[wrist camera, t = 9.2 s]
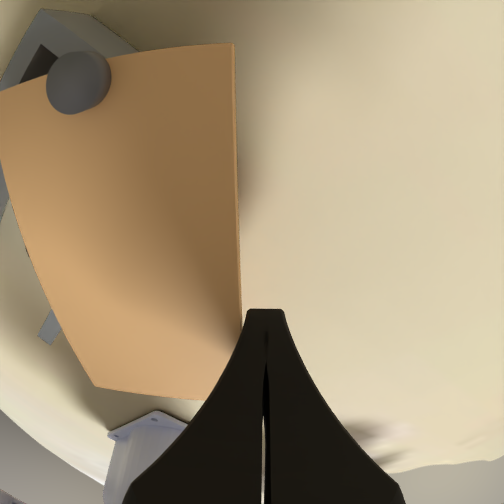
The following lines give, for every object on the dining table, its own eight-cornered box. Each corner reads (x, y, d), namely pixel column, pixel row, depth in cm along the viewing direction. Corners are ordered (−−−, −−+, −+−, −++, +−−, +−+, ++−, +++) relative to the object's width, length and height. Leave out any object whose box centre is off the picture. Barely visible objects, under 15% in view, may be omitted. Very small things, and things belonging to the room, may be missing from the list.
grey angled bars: (74, 304, 15) (50, 345, 13) (-14, 229, 13) (-47, 260, 10) (223, 122, 10) (209, 143, 8) (89, 15, 8) (40, 8, 5)
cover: (245, 386, 13) (243, 414, 11) (99, 372, 13) (90, 397, 12) (234, 32, 6) (227, 25, 5) (6, 81, 6) (-26, 90, 5)
